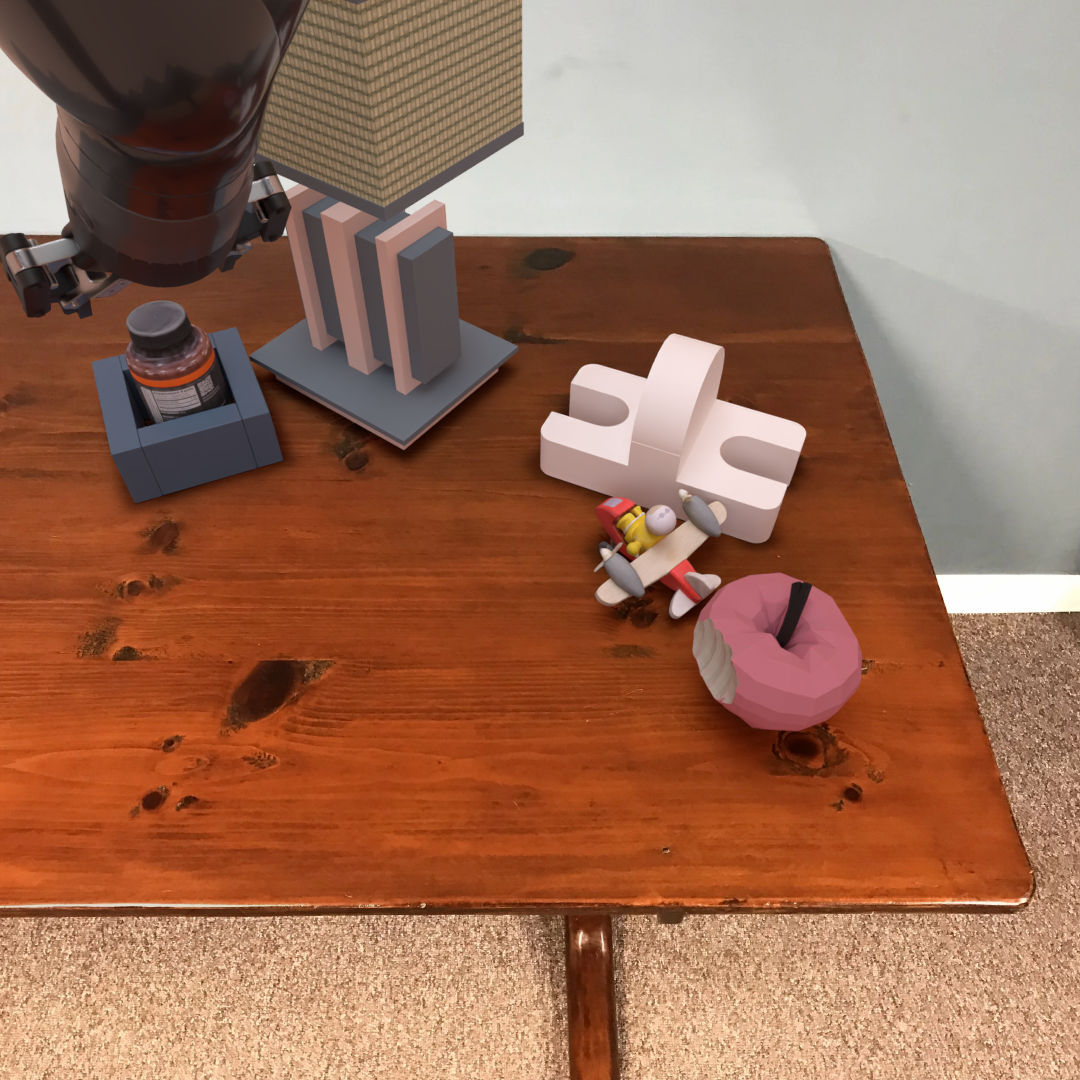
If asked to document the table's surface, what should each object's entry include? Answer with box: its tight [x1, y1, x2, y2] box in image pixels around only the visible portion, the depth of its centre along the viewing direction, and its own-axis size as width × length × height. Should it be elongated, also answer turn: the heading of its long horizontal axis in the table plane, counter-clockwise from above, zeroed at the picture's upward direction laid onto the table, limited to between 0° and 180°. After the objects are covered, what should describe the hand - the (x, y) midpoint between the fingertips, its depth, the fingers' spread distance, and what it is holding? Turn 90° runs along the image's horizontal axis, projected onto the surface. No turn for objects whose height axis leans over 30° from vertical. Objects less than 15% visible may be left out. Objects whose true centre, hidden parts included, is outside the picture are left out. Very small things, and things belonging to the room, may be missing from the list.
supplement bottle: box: [124, 300, 233, 425], centre depth 66 cm, size 6×6×11 cm
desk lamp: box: [248, 0, 525, 451], centre depth 63 cm, size 18×14×33 cm
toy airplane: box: [593, 489, 727, 620], centre depth 59 cm, size 9×9×6 cm
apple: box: [692, 572, 863, 732], centre depth 52 cm, size 10×9×10 cm
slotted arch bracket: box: [539, 333, 807, 544], centre depth 65 cm, size 10×18×11 cm, turn 66°
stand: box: [91, 326, 284, 504], centre depth 68 cm, size 11×11×5 cm
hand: (150, 277), depth 53 cm, fingers open, 8 cm apart
